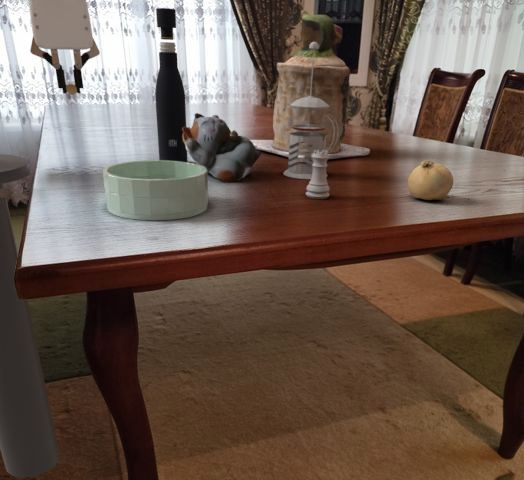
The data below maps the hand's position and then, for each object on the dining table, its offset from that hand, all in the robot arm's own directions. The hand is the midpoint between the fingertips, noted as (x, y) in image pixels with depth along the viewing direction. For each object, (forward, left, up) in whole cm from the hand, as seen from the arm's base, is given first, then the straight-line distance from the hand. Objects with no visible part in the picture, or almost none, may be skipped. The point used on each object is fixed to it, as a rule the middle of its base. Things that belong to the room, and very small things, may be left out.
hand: (71, 92), depth 100 cm
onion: (+52, -45, -15) cm, 70 cm away
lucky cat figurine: (+26, -12, -15) cm, 32 cm away
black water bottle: (+22, +5, -15) cm, 27 cm away
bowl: (+5, -30, -15) cm, 34 cm away
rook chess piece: (+34, -35, -15) cm, 51 cm away
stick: (+1, 0, 0) cm, 1 cm away
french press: (+44, -18, -15) cm, 50 cm away
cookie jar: (+61, +7, -15) cm, 63 cm away
